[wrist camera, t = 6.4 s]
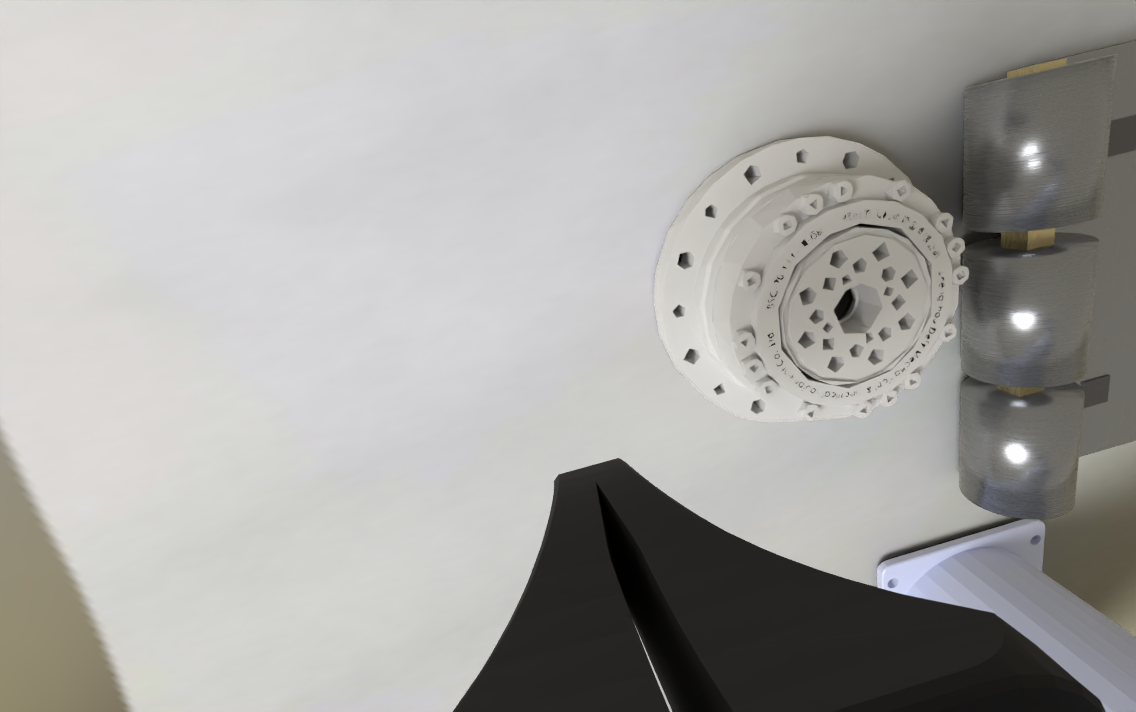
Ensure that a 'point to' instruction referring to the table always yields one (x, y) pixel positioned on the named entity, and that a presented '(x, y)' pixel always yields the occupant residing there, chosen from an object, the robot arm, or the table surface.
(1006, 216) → the hinge leaf
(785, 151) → the mechanical component
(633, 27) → the table surface
